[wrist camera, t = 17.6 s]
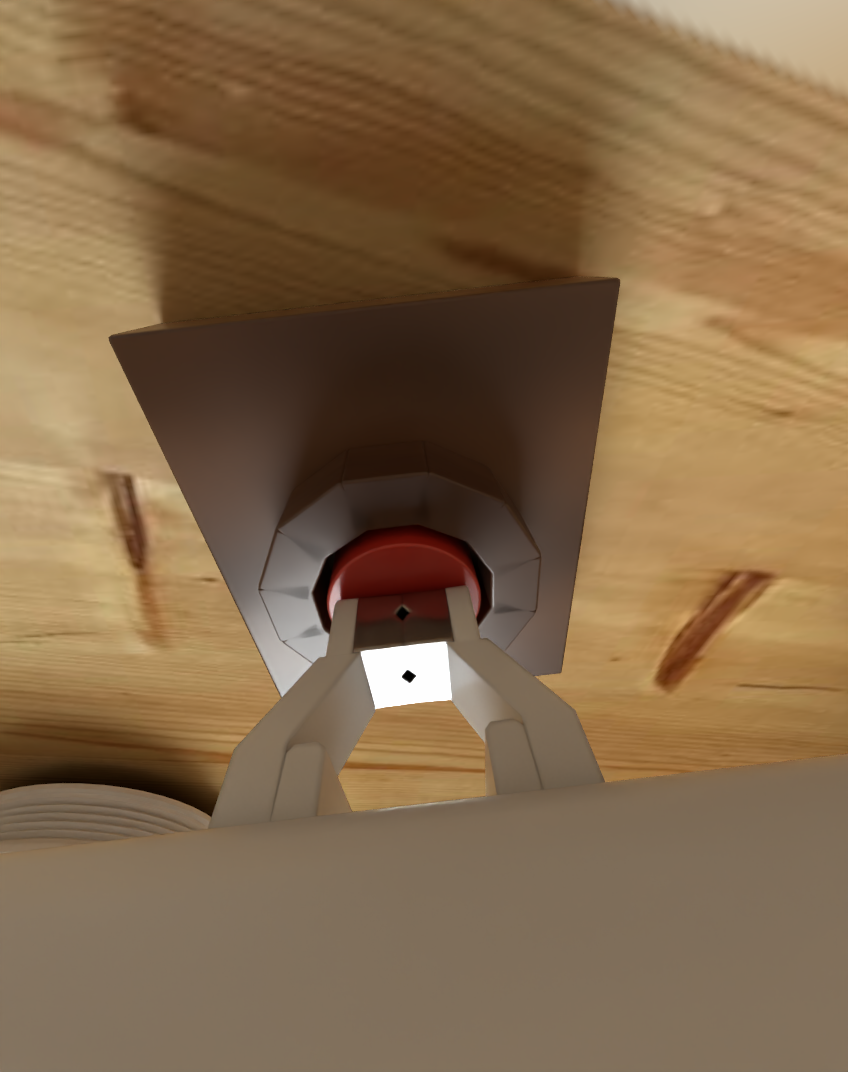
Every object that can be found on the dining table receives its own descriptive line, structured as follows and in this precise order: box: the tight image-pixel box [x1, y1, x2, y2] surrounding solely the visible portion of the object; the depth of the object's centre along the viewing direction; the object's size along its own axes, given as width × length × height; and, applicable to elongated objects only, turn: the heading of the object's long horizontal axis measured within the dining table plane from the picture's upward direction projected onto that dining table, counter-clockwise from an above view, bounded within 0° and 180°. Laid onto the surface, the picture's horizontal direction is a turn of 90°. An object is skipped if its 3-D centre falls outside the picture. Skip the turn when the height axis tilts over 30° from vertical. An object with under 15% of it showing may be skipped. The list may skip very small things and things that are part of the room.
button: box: [327, 525, 481, 622], centre depth 10 cm, size 4×4×2 cm
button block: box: [109, 276, 620, 698], centre depth 11 cm, size 12×10×4 cm
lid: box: [0, 783, 211, 853], centre depth 20 cm, size 13×13×5 cm
